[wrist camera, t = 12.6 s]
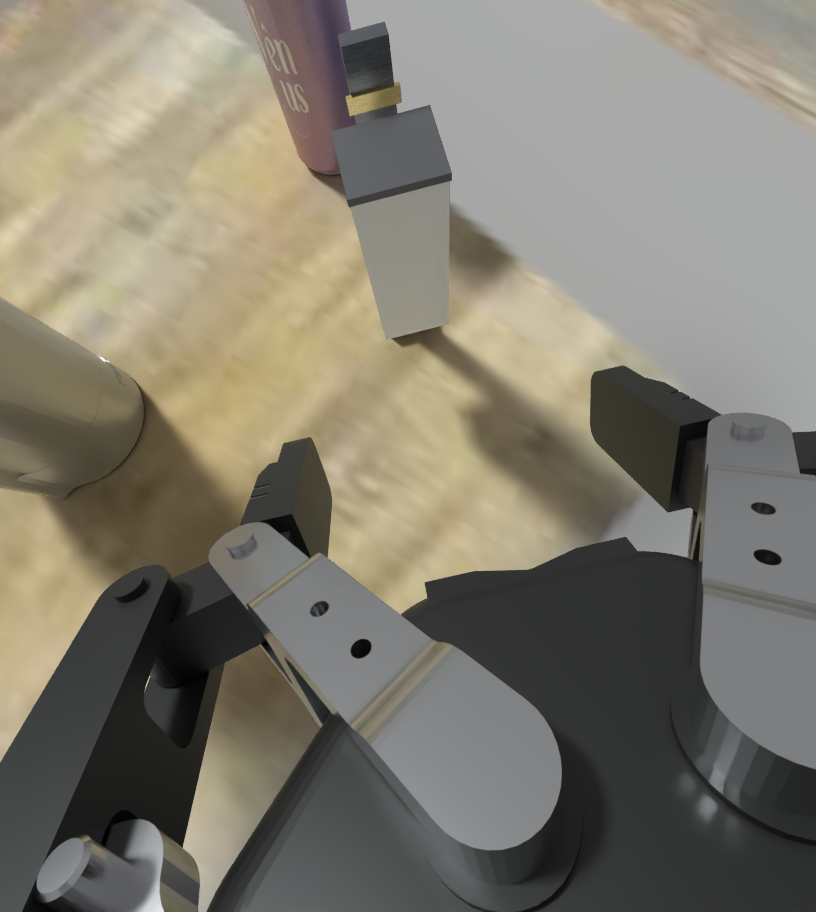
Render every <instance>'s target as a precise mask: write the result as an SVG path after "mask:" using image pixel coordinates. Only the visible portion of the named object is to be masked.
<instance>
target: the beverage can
mask: <svg viewBox="0 0 816 912" xmlns="http://www.w3.org/2000/svg"><path fill="white" fill-rule="evenodd" d="M242 1H243V4H244V7H245V9H246V12H247V15H248V17H249V20H250V23H251V26H252V29H253V31H254V34H255V37H256V40H257V42H258V45H259V48H260V51H261V53H262V56H263V59H264V62H265V64H266V67H267V70H268V73H269V75H270V78H271V81H272V84H273V86H274V89H275V92H276V95H277V98H278V100H279V103H280V106H281V109H282V111H283V114H284V117H285V120H286V122H287V125H288V128H289V131H290V133H291V136H292V139H293V142H294V144H295V147H296V150H297V153H298V155H299V157H300V159H301V160H302V161H303V162H304V163H305V164H306V165H307V166H308V167H310V168H311V169H312V170H314V171H316V172H318V173H321V174H326V175H336V174H341V173H340V168H339V164H338V160H337V156H336V151H335V147H334V143H333V138H332V134H331V131H335V130H338V129H342V128H346V127H350V126H353V125H356V121H355V116H354V115H353V116H350V115H349V111H348V106H347V102H346V97H345V96H348V95H350V92H349V87H348V82H347V77H346V72H345V67H344V63H343V58H342V53H341V48H340V43H339V38H338V34H342V33H345V32H349V31H351V27H350V22H349V16H348V11H347V5H346V0H242Z"/></svg>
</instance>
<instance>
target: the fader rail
mask: <svg viewBox="0 0 816 912" xmlns="http://www.w3.org/2000/svg"><path fill="white" fill-rule="evenodd" d="M338 38H339V43H340V48H341V53H342V58H343V63H344V67H345V72H346V77H347V82H348V87H349V92H350V95H348V96H345V97H346V102H347V106H348V111H349V115H350V116H353V115H354V116H355V121H356V125H357V124H361V123H365V122H368V121H372V120H376V119H380V118H383V117H387V116H391V115H395V114H397V107H396V104H398V103H401V102H402V99H401V89H400V83H399V82H397V83H394V80H393V72H392V62H391V53H390V44H389V35H388V31H387V28H386V25H385V22H382V23H379V24H375V25H371V26H367V27H363V28H360V29H356V30H353V31H349V32H345V33H342V34H338Z"/></svg>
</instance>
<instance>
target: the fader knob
mask: <svg viewBox="0 0 816 912" xmlns="http://www.w3.org/2000/svg"><path fill="white" fill-rule="evenodd" d="M331 134H332V138H333V143H334V147H335V151H336V156H337V160H338V164H339V168H340V173H341V177H342V181H343V185H344V190H345V194H346V198H347V202H348V206H349V207H351V211H352V215H353V219H354V222H355V226H356V230H357V233H358V237H359V241H360V244H361V248H362V252H363V256H364V259H365V263H366V267H367V270H368V274H369V278H370V281H371V285H372V289H373V293H374V296H375V300H376V304H377V307H378V311H379V315H380V318H381V322H382V326H383V330H384V333H385V337H386V340H387V339H391V338H395V337H399V336H403V335H407V334H411V333H415V332H419V331H423V330H427V329H431V328H435V327H439V326H443V325H447V324H449V228H450V181H451V180H452V172H451V169H450V166H449V163H448V160H447V157H446V154H445V151H444V147H443V144H442V141H441V138H440V135H439V132H438V129H437V126H436V123H435V119H434V117H433V113H432V110H431V107H430V105H428V106H425V107H421V108H418V109H413V110H410V111H406V112H402V113H398V114H395V115H391V116H387V117H383V118H380V119H376V120H372V121H368V122H365V123H361V124H357V125H353V126H350V127H346V128H342V129H338V130H335V131H331Z"/></svg>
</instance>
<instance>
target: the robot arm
mask: <svg viewBox="0 0 816 912" xmlns="http://www.w3.org/2000/svg"><path fill="white" fill-rule="evenodd" d="M143 418H144V403H143V400H142V396H141V392H140V390H139V388H138V387H137V385H136V383H135V382H134V380H133V379H132V378H131V377H130V376H129V375H128V374H127V373H125V372H123V371H122V370H120V369H118V368H117V367H115V366H114V365H112V364H111V363H110V362H108V361H107V360H105V359H104V358H102V357H100V356H99V355H96V354H94V353H92V352H91V351H89V350H87V349H86V348H84V347H82V346H81V345H79V344H78V343H76V342H74V341H73V340H71V339H69V338H68V337H66V336H64V335H63V334H61V333H59V332H58V331H56V330H54V329H53V328H51V327H49V326H48V325H46V324H44V323H43V322H41V321H39V320H38V319H36V318H34V317H33V316H31V315H29V314H28V313H26V312H24V311H23V310H21V309H19V308H18V307H16V306H14V305H13V304H11V303H9V302H8V301H6V300H4V299H3V298H1V297H0V488H3V489H9V490H15V491H21V492H26V493H32V494H38V495H44V496H49V497H55V498H61V499H63V498H65V497H66V496H67V495H68V494H69V493H70V492H71V491H72V490H73V489H74V488H76V487H78V486H81V485H84V484H88V483H91V482H94V481H96V480H98V479H100V478H102V477H104V476H106V475H107V474H109V473H110V472H111V471H112V470H114V469H115V468H116V467H118V466H119V465H120V464H121V462H122V461H123V460H124V459H125V458H126V457H127V456H128V455H129V453H130V452H131V450H132V448H133V447H134V445H135V444H136V442H137V439H138V437H139V434H140V432H141V429H142V424H143ZM590 427H591V432H592V435H593V437H594V439H595V441H596V443H597V444H598V445H599V446H600V447H601V448H602V449H603V450H604V451H605V452H606V453H607V454H608V455H609V456H610V457H611V458H613V459H614V460H615V461H616V462H617V463H618V464H619V465H620V466H621V467H622V468H623V469H624V470H625V471H626V472H627V473H628V474H629V475H630V476H631V477H632V478H633V479H634V480H635V481H636V482H637V483H638V484H639V485H640V486H641V487H642V488H643V489H644V490H645V491H646V492H647V493H648V494H649V495H651V496H652V497H653V498H654V499H655V500H656V501H657V502H658V503H659V504H660V505H661V506H662V507H663V508H664V509H665V510H666V511H667V512H672V511H676V510H681V509H685V508H692V509H693V513H692V518H691V527H690V536H689V547H688V557H687V558H686V557H682V556H677V555H673V554H667V553H660V552H646V551H637V550H636V549H635V548H634V546H633V545H632V544H631V543H630V542H629V540H628V539H627V538H626V537H623V538H619V539H615V540H610V541H606V542H601V543H597V544H593V545H588V546H584V547H579V548H576V549H573V550H571V551H569V552H567V553H565V554H563V555H561V556H558V557H556V558H554V559H552V560H550V561H548V562H546V563H544V564H541V565H539V566H537V567H535V568H532V569H529V570H508V571H473V572H469V573H464V574H460V575H455V576H451V577H447V578H442V579H438V580H433V581H429V582H425V587H426V592H427V599H424V600H422V601H420V602H419V603H417V604H415V605H414V606H412V607H410V608H409V609H407V610H406V611H405V612H403V613H402V614H401V615H400V614H399V613H397V612H396V611H395V610H394V609H392V608H391V607H390V606H389V605H387V604H386V603H385V602H383V601H382V600H381V599H380V598H378V597H377V596H376V595H374V594H373V593H372V592H371V591H369V590H368V589H367V588H366V587H364V586H363V585H362V584H360V583H359V582H358V581H357V580H355V579H354V578H353V577H351V576H350V575H349V574H348V573H346V572H345V571H344V570H342V569H341V568H340V567H339V566H337V565H336V564H335V563H334V562H332V561H331V560H330V559H328V546H329V534H330V522H331V510H332V496H331V491H330V486H329V483H328V480H327V477H326V475H325V472H324V469H323V466H322V464H321V461H320V458H319V455H318V453H317V450H316V447H315V445H314V442H313V440H312V439H311V438H310V437H309V438H304V439H300V440H296V441H291V442H287V443H284V444H283V446H282V449H281V453H280V456H279V459H278V462H276V463H271V464H269V465H268V466H267V467H266V468H265V469H264V470H263V471H262V472H261V473H260V474H259V475H258V478H257V481H256V483H255V486H254V489H253V491H252V494H251V499H250V500H249V502H248V505H247V508H246V510H245V513H244V516H243V519H242V521H241V524H240V526H239V527H237V528H234V529H233V530H231V531H229V532H228V533H226V534H225V535H223V536H222V537H221V538H220V539H219V540H218V541H217V542H216V543H215V544H214V545H213V546H212V548H211V550H210V552H209V556H208V559H209V562H208V563H206V564H204V565H202V566H200V567H198V568H195V569H193V570H191V571H189V572H186V573H184V574H182V575H180V576H177V577H175V578H172V577H171V575H170V574H169V573H168V571H167V570H166V568H164V567H162V566H159V565H152V566H146V567H142V568H139V569H137V570H134V571H132V572H130V573H128V574H126V575H125V576H123V577H121V578H120V579H118V580H117V581H116V582H114V583H113V584H112V585H111V586H109V587H108V588H107V589H106V590H105V591H104V592H103V593H102V595H101V596H100V597H99V599H98V600H97V602H96V603H95V605H94V607H93V608H92V610H91V612H90V613H89V615H88V617H87V618H86V620H85V622H84V623H83V625H82V627H81V628H80V630H79V632H78V633H77V635H76V637H75V638H74V640H73V642H72V644H71V645H70V647H69V649H68V650H67V652H66V654H65V655H64V657H63V659H62V660H61V662H60V664H59V665H58V667H57V669H56V670H55V672H54V674H53V675H52V677H51V679H50V680H49V682H48V684H47V685H46V687H45V689H44V690H43V692H42V694H41V695H40V697H39V699H38V700H37V702H36V704H35V705H34V707H33V709H32V710H31V712H30V714H29V715H28V717H27V719H26V720H25V722H24V724H23V725H22V727H21V729H20V731H19V732H18V734H17V736H16V737H15V739H14V741H13V742H12V744H11V746H10V747H9V749H8V751H7V752H6V754H5V756H4V757H3V759H2V761H1V762H0V912H198V902H199V889H200V878H199V871H198V867H197V864H196V862H195V860H194V858H193V857H192V856H191V855H190V854H189V853H188V852H187V851H186V850H184V849H183V843H184V839H185V834H186V830H187V826H188V821H189V817H190V813H191V808H192V804H193V799H194V795H195V791H196V786H197V782H198V778H199V773H200V769H201V764H202V760H203V756H204V751H205V747H206V743H207V738H208V734H209V730H210V725H211V721H212V716H213V712H214V708H215V703H216V699H217V695H218V690H219V686H220V681H221V677H222V673H223V668H224V663H225V662H227V661H229V660H231V659H232V658H234V657H236V656H238V655H240V654H242V653H244V652H246V651H248V650H250V649H252V648H254V647H256V646H258V645H260V646H261V648H262V649H263V650H264V652H265V653H266V654H267V656H268V657H269V658H270V660H271V661H272V662H273V664H274V665H275V666H276V667H277V669H278V670H279V671H280V673H281V674H282V675H283V677H284V678H285V679H286V681H287V682H288V683H289V684H290V686H291V687H292V688H293V690H294V691H295V692H296V694H297V695H298V696H299V698H300V699H301V700H302V702H303V703H304V705H305V706H306V708H307V709H308V711H309V712H310V714H311V715H312V717H313V718H314V720H315V721H316V723H317V724H318V725H319V727H320V730H319V731H318V733H317V735H316V736H315V738H314V739H313V741H312V742H311V744H310V745H309V747H308V748H307V750H306V752H305V753H304V755H303V756H302V758H301V759H300V761H299V762H298V764H297V765H296V767H295V769H294V770H293V772H292V773H291V775H290V776H289V778H288V779H287V781H286V782H285V784H284V786H283V787H282V789H281V790H280V792H279V793H278V795H277V796H276V798H275V799H274V801H273V803H272V804H271V806H270V807H269V809H268V810H267V812H266V813H265V815H264V816H263V818H262V820H261V821H260V823H259V824H258V826H257V827H256V829H255V830H254V832H253V833H252V835H251V837H250V838H249V840H248V841H247V843H246V844H245V846H244V847H243V849H242V850H241V852H240V854H239V855H238V857H237V858H236V860H235V861H234V863H233V864H232V866H231V867H230V869H229V871H228V872H227V874H226V876H225V877H224V879H223V881H222V882H221V884H220V886H219V888H218V889H217V891H216V893H215V895H214V897H213V899H212V901H211V903H210V905H209V908H208V910H207V912H816V431H814V432H794V433H792V431H791V429H790V427H789V426H788V425H786V424H785V423H784V422H781V421H780V420H778V419H775V418H772V417H769V416H765V415H760V414H753V413H730V414H724V415H721V414H719V413H718V412H716V411H714V410H712V409H711V408H709V407H707V406H705V405H703V404H702V403H700V402H698V401H696V400H695V399H693V398H692V399H690V397H689V396H687V395H686V394H684V393H682V392H678V390H677V389H675V388H673V387H671V386H670V385H668V384H666V383H664V382H660V381H656V380H652V379H648V378H644V377H643V376H641V375H639V374H638V373H636V372H634V371H632V370H631V369H629V368H627V367H626V366H618V367H614V368H610V369H605V370H601V371H597V372H594V374H593V375H592V378H591V403H590ZM149 675H150V676H151V677H150V679H149V682H148V685H147V687H146V690H145V686H146V683H147V680H148V678H149ZM144 690H145V692H144Z"/></svg>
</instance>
